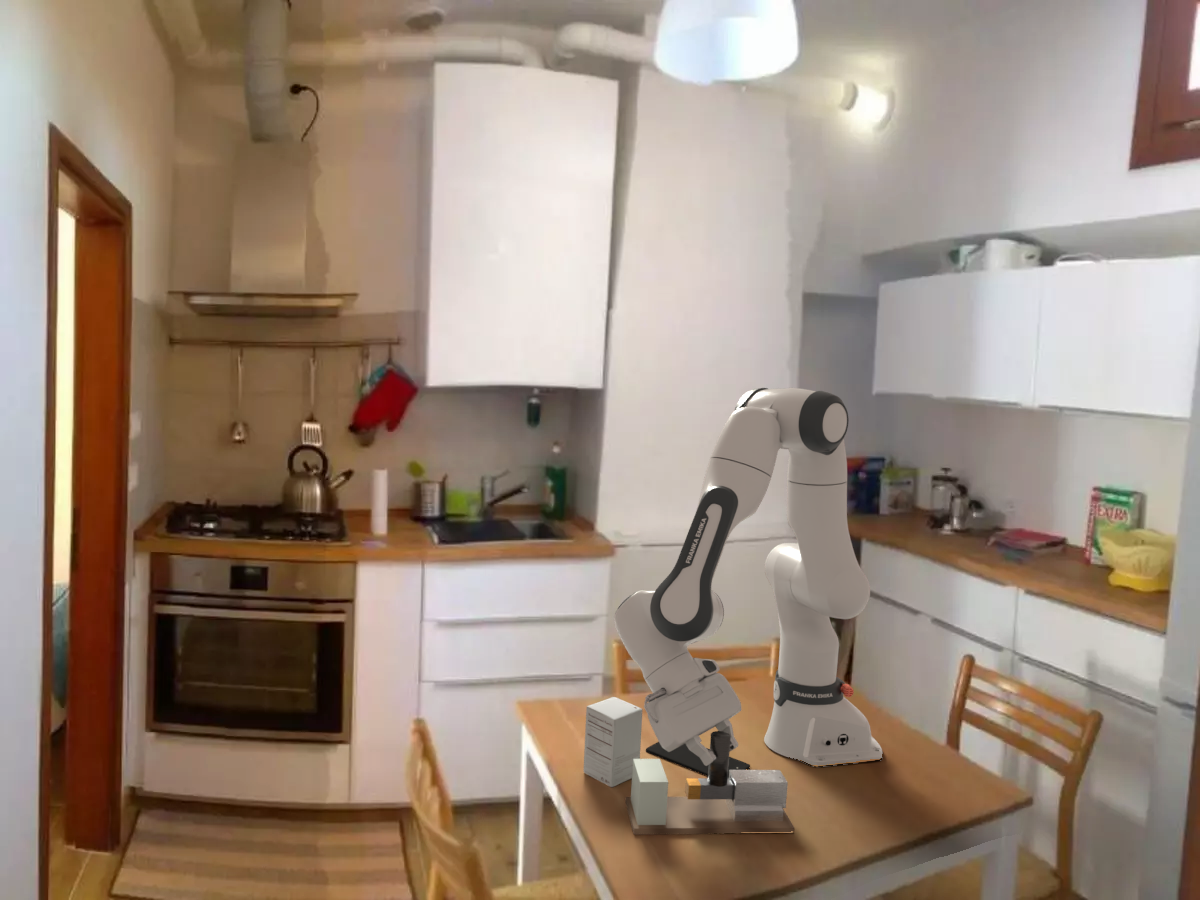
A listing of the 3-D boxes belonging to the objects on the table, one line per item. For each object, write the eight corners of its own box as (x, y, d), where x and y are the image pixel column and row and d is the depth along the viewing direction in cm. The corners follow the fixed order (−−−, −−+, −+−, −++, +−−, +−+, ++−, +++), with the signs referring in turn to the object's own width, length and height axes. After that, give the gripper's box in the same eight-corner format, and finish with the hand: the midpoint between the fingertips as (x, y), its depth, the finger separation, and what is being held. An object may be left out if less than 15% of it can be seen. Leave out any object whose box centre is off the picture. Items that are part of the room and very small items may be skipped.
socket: (657, 799, 154) (659, 758, 153) (665, 824, 146) (668, 782, 146) (630, 799, 154) (633, 758, 153) (637, 825, 146) (640, 782, 145)
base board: (775, 802, 158) (776, 796, 158) (793, 833, 148) (794, 827, 148) (625, 802, 155) (625, 796, 155) (633, 834, 145) (634, 828, 145)
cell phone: (670, 738, 181) (671, 734, 181) (751, 769, 170) (751, 764, 170) (644, 753, 175) (644, 748, 174) (726, 786, 163) (726, 781, 163)
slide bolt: (772, 790, 154) (777, 731, 152) (778, 800, 150) (783, 739, 149) (684, 790, 152) (688, 730, 151) (688, 800, 149) (692, 739, 148)
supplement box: (610, 761, 170) (614, 695, 168) (640, 776, 165) (644, 708, 163) (581, 772, 165) (585, 705, 163) (610, 788, 159) (614, 718, 158)
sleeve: (775, 802, 156) (778, 767, 155) (786, 821, 150) (789, 784, 149) (725, 802, 155) (728, 767, 154) (734, 821, 149) (737, 784, 148)
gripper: (652, 689, 145) (700, 768, 140) (720, 658, 161) (766, 728, 156) (628, 707, 148) (674, 786, 143) (697, 675, 164) (741, 745, 159)
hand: (722, 755), depth 150 cm, fingers open, 5 cm apart
